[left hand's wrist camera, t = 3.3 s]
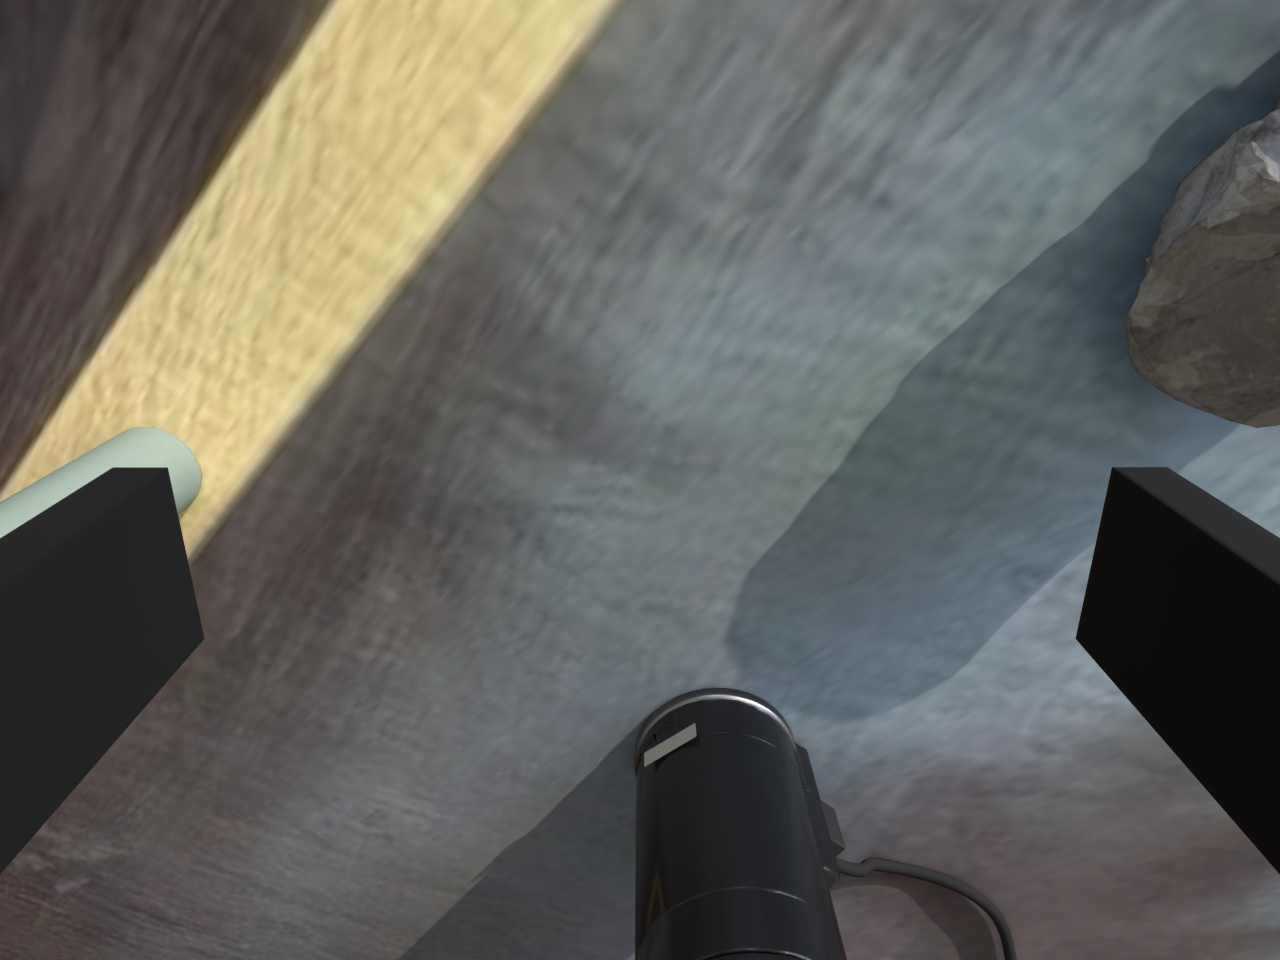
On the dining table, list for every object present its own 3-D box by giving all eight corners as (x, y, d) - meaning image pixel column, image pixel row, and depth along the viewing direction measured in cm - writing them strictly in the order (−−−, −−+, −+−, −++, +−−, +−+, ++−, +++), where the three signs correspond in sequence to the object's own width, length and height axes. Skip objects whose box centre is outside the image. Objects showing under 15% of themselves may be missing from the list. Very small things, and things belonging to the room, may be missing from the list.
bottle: (93, 432, 44) (-403, 701, 23) (185, 421, 44) (-233, 682, 23) (125, 518, 46) (-310, 841, 25) (213, 507, 46) (-150, 825, 25)
